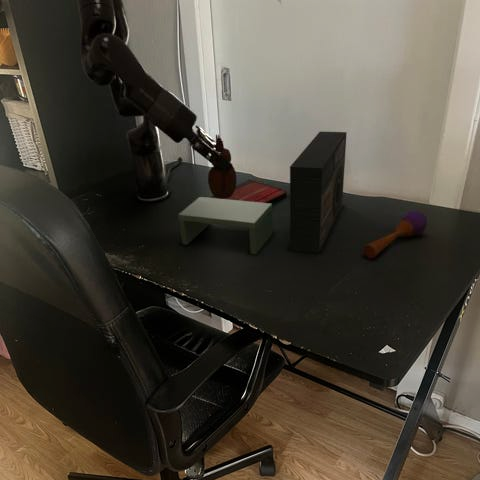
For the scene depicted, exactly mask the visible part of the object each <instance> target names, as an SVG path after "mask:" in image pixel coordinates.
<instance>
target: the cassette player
mask: <svg viewBox="0 0 480 480" xmlns="http://www.w3.org/2000/svg"><path fill="white" fill-rule="evenodd" d="M346 149H347V131H319V132H318V133H317V134H316V135H315V137H313V139H311V141H310V142H309V144H308V145H307V146H306V147H305V148H304V149H303V151H302V152H300V154H299V155H298V156H297V157H296V159H295V160H294V161H293V162H292V164H291V165H290V166H289V230H290V231H289V233H290V234H289V239H290V241H289V245H290V246H289V247H290V248H289V249H290V251H296V252H306V253H315V254H320V252H321V250H322V248H323V246H324V244H325V242H326V240H327V238H328V236H329V234H330V232H331V230H332V228H333V226H334V224H335V222H336V220H337V217H338V215H339V214H340V212H341V210H342V208H343V202H344V201H343V197H344V183H345V181H344V180H345V167H346V166H345V165H346Z"/></svg>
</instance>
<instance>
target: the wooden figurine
mask: <svg viewBox="0 0 480 480" xmlns="http://www.w3.org/2000/svg"><path fill="white" fill-rule="evenodd" d="M215 142H216V150H217V151H218V152H220V154H221V155H222V156H223V157H225V158H226V159H227V160H228V161H229V162H230V163H232V153H231V151H230V150H229V148H226V147H225V146H224V140H222V138H221V137H220V134H215ZM213 154H214V153H213V152H212V153H211V154H210V156H211V157H212V155H213ZM211 165H212V166H211V167H210V169H209V171H208V174H207V184H208V187H209V190H210V192H211V194H212V196H214V197H216V198H218V199H226V198H229V197H231V196H232V195H233V193H234V191H235V188H236V185H237V182H238V180H237V171H236V169H235V167H234V166H233V167H232V169H231V170H230V171H229V172H225V171H224V170H223V169H222V168H220V167H219V166H218V165H217V164H216V163H213V164H212V163H211Z"/></svg>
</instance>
